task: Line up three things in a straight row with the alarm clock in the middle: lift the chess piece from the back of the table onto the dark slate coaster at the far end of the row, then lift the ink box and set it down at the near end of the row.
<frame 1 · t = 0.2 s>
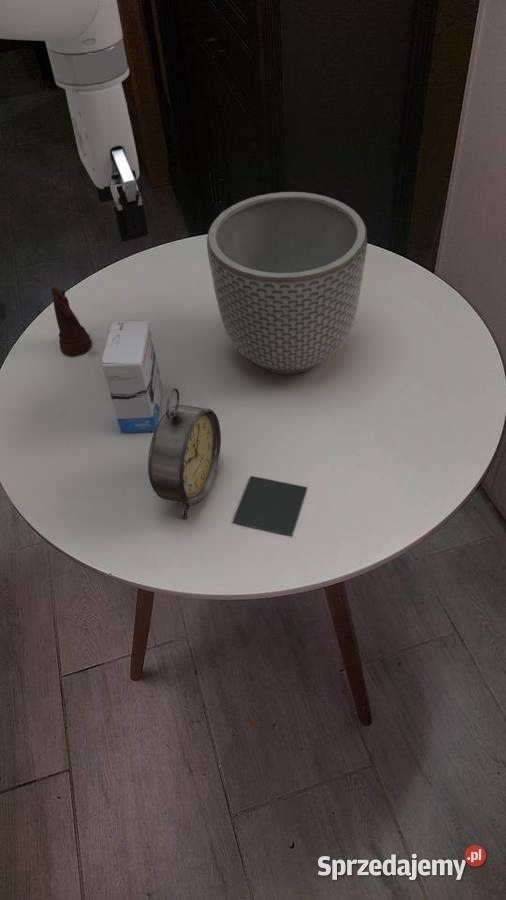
hand: (123, 217, 81), 22 cm above the table, tool pointing down, fingers open, 9 cm apart
alarm clock: (190, 489, 82), on the table
planter: (288, 352, 98), on the table
ink box: (142, 410, 92), on the table
slate coaster: (270, 505, 80), on the table
chess piece: (76, 346, 101), on the table
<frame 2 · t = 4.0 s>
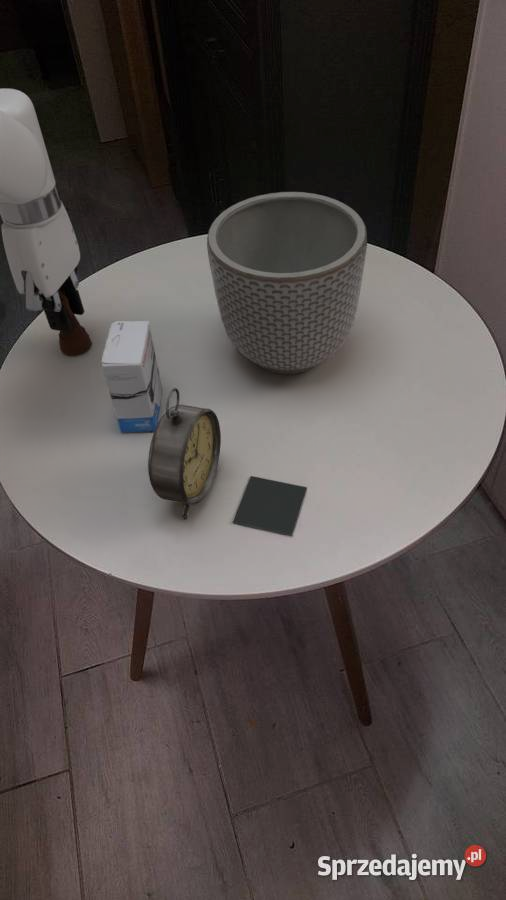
hand: (67, 320, 98), 5 cm above the table, tool pointing down, fingers closed on chess piece, 3 cm apart
chess piece: (76, 346, 101), on the table, touching gripper
everything else where it was.
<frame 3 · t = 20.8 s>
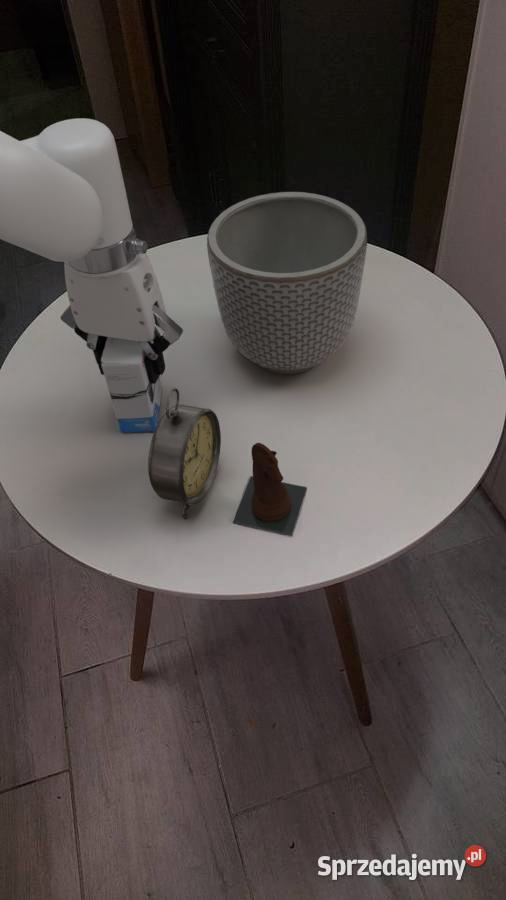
hand: (132, 370, 86), 7 cm above the table, tool pointing down, fingers closed on ink box, 6 cm apart
ink box: (142, 410, 92), on the table, touching gripper
chess piece: (269, 506, 80), resting on slate coaster
everything else where it was.
when the fingers open (7 cm above the table, at t = 27.3 s): ink box stays where it is, on the table.
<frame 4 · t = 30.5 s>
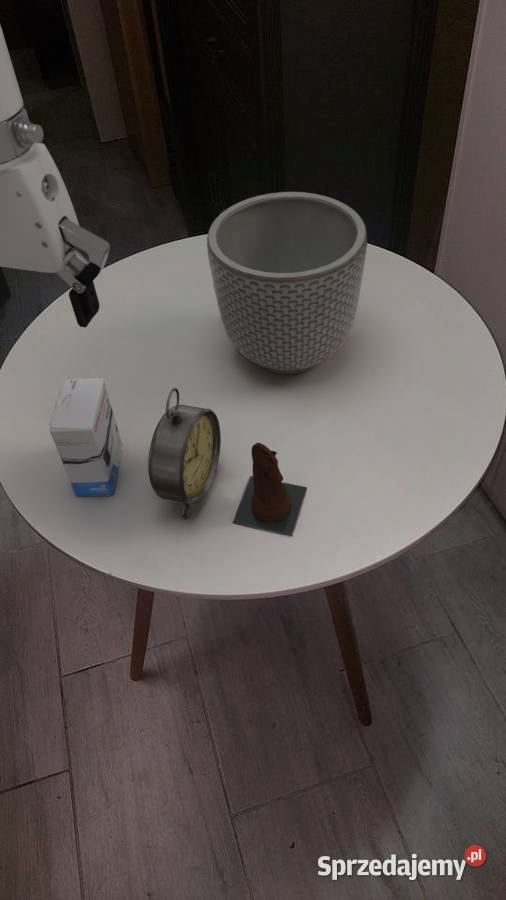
hand: (44, 311, 67), 24 cm above the table, tool pointing down, fingers open, 9 cm apart
ink box: (100, 470, 85), on the table
everything else where it was.
at the end: chess piece 0.2 cm from the target spot on the table beside the alarm clock, resting on slate coaster; ink box 0.0 cm from the target spot on the table beside the alarm clock, on the table; ink box tilted 0° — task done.
